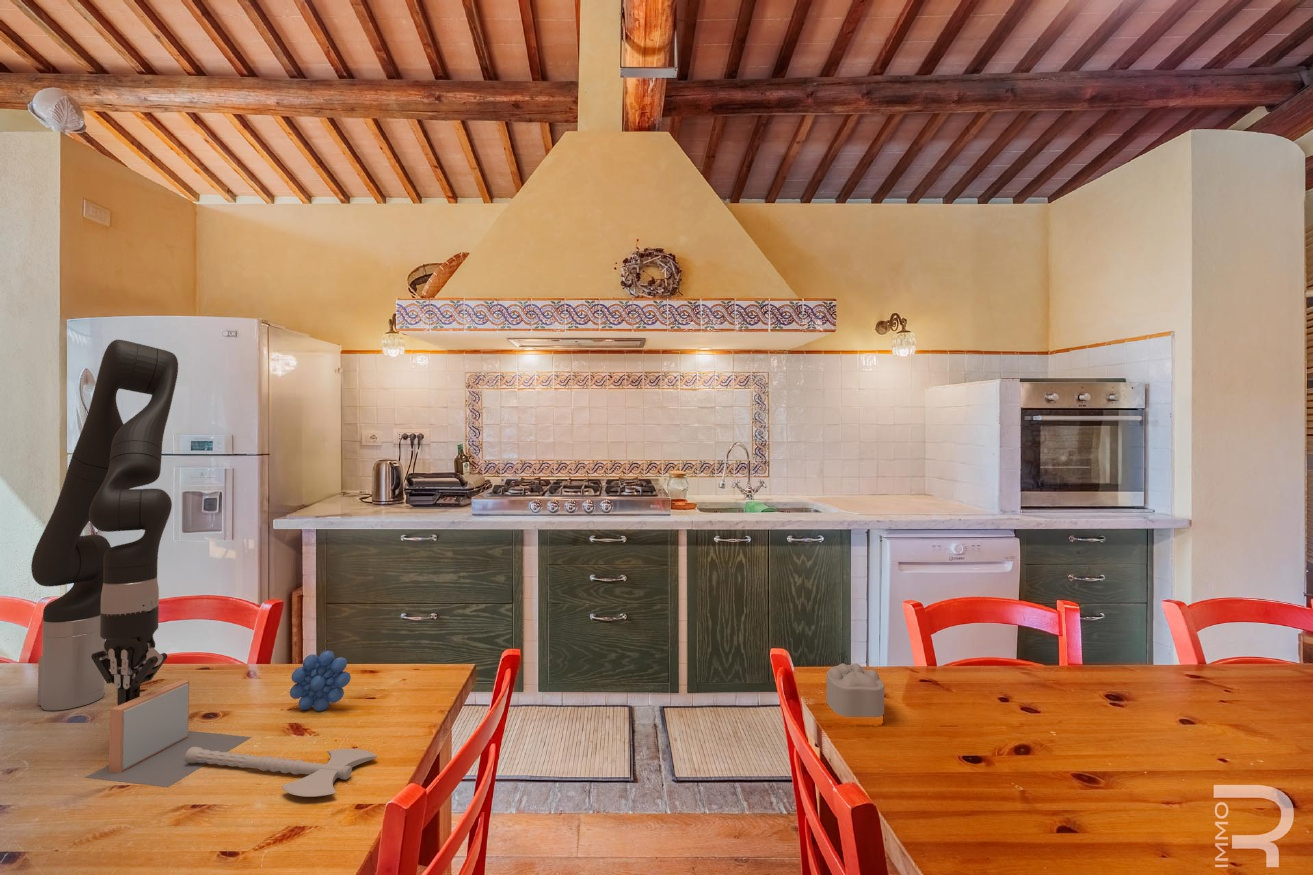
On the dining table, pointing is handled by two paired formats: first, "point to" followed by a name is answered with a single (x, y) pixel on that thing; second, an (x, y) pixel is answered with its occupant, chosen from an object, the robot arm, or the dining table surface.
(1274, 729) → the dining table surface
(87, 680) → the robot arm
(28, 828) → the dining table surface
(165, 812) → the dining table surface
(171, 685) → the tile
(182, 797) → the dining table surface
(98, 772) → the mat
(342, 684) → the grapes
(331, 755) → the double-bladed axe
